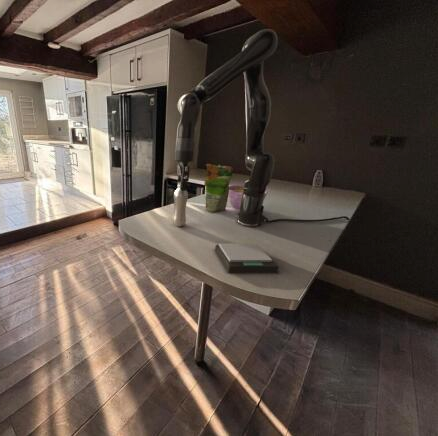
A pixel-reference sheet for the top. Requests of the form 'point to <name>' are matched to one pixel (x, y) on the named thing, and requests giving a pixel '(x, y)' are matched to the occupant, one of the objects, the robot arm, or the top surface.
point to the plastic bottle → (179, 206)
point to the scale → (245, 258)
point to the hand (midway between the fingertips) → (181, 187)
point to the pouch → (217, 187)
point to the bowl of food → (237, 195)
